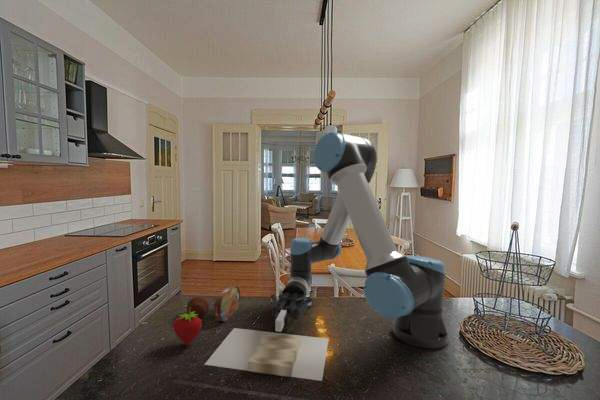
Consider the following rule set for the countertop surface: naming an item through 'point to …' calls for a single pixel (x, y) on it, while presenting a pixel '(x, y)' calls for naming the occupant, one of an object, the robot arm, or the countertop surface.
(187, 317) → the strawberry
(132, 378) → the countertop surface
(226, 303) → the tin
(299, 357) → the mat
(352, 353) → the countertop surface
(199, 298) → the potato
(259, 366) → the board
